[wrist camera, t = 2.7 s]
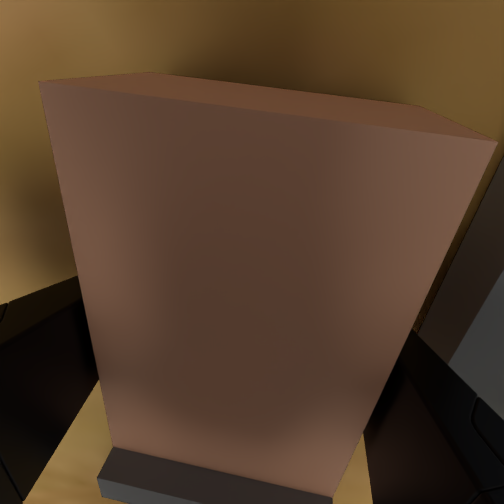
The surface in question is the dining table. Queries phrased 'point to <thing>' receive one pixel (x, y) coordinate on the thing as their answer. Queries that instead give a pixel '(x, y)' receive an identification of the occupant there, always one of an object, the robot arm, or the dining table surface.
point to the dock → (475, 303)
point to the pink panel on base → (248, 271)
